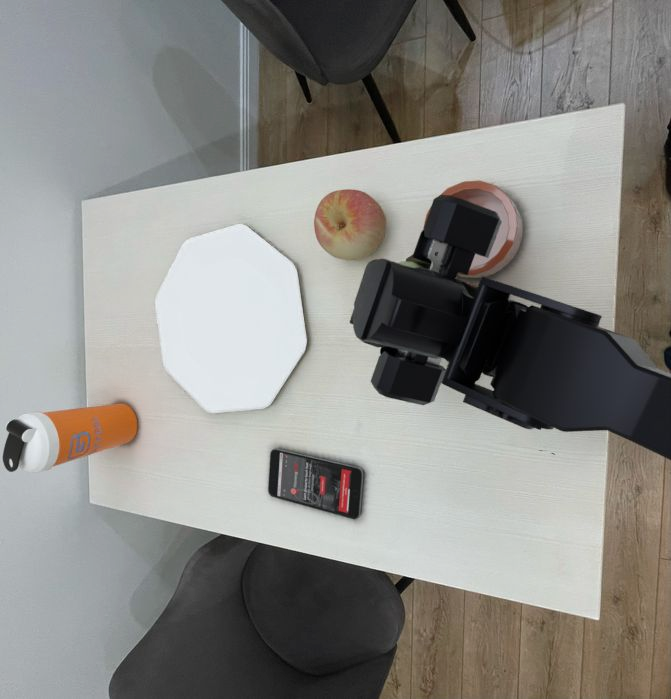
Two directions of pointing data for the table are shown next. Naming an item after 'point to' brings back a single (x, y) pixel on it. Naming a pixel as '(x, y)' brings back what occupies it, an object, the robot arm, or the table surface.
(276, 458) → the smartphone
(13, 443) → the shaker bottle
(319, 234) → the apple
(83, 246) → the table surface
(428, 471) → the table surface
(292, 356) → the plate
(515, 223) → the bowl
